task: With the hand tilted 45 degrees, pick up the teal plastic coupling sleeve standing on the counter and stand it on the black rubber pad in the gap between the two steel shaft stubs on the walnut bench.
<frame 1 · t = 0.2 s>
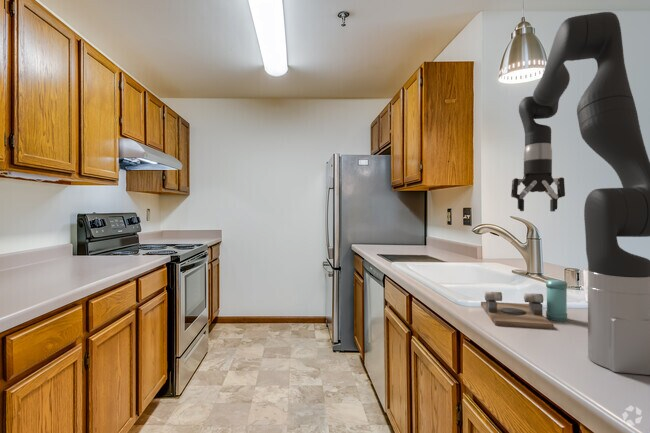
hand: (537, 211, 107), 28 cm above the counter, tool pointing down, fingers open, 8 cm apart
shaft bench: (513, 315, 94), on the counter
coupling: (556, 318, 91), on the counter
white cup: (599, 303, 105), on the counter
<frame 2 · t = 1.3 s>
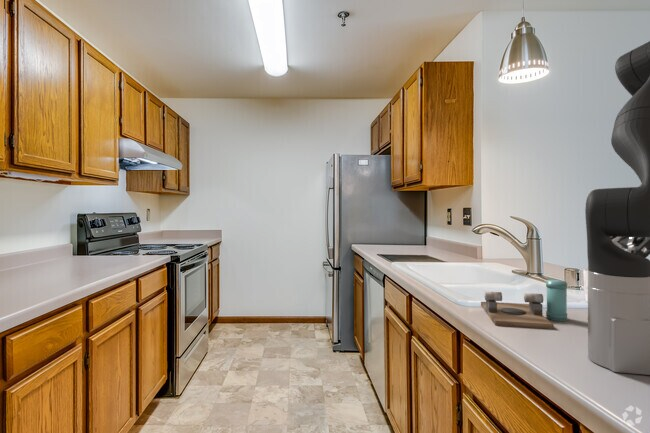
hand: (606, 263, 88), 15 cm above the counter, tool tilted 45°, fingers open, 8 cm apart
nothing on the counter moved.
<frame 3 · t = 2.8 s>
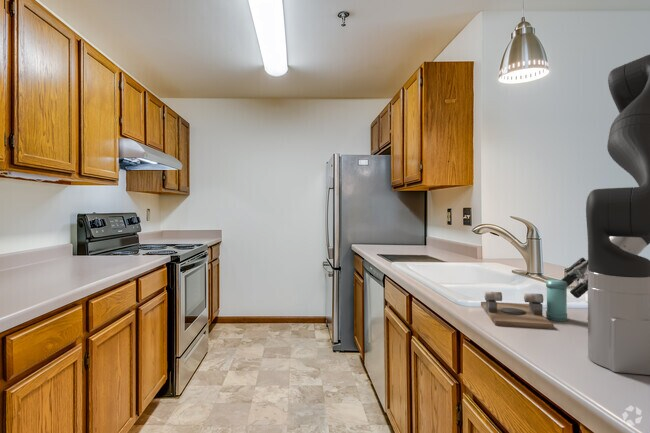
hand: (566, 291, 90), 7 cm above the counter, tool tilted 45°, fingers open, 8 cm apart
nothing on the counter moved.
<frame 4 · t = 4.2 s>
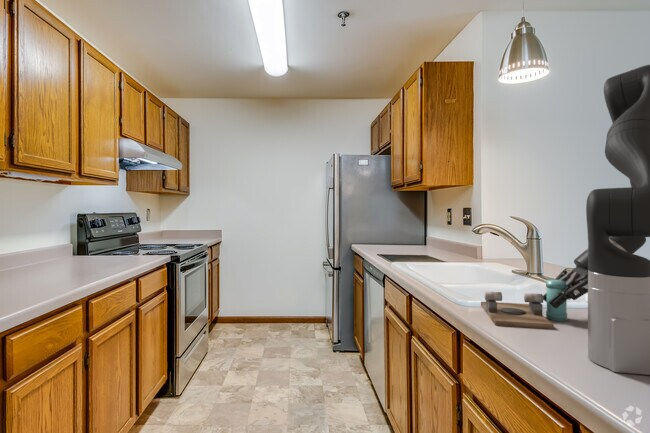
hand: (548, 302, 91), 4 cm above the counter, tool tilted 45°, fingers closed on coupling, 4 cm apart
coupling: (556, 318, 91), on the counter, touching gripper
everything else where it was.
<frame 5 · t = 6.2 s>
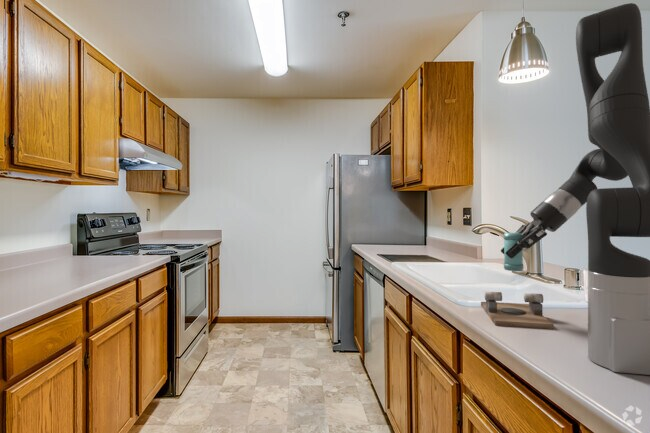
hand: (505, 254, 94), 17 cm above the counter, tool tilted 45°, fingers closed on coupling, 4 cm apart
coupling: (513, 269, 93), point 13 cm above the counter, touching gripper
everything else where it was.
when the fingers open (7 cm above the counter, at t = 8.4 s): coupling drops 1 cm, resting on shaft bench.
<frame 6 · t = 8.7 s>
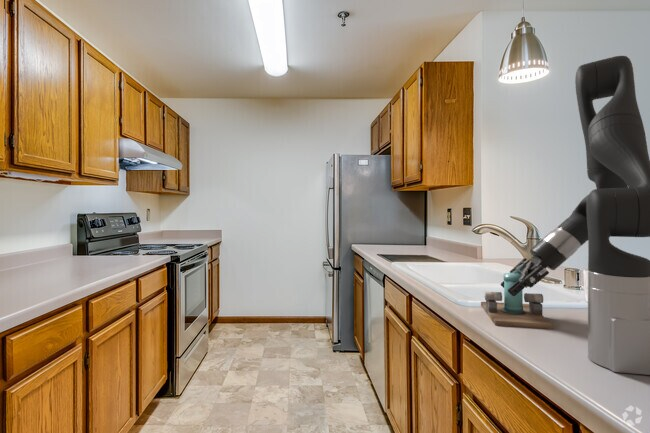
hand: (506, 290, 94), 7 cm above the counter, tool tilted 45°, fingers open, 6 cm apart
coupling: (513, 310, 94), point 1 cm above the counter, touching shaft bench
everything else where it was.
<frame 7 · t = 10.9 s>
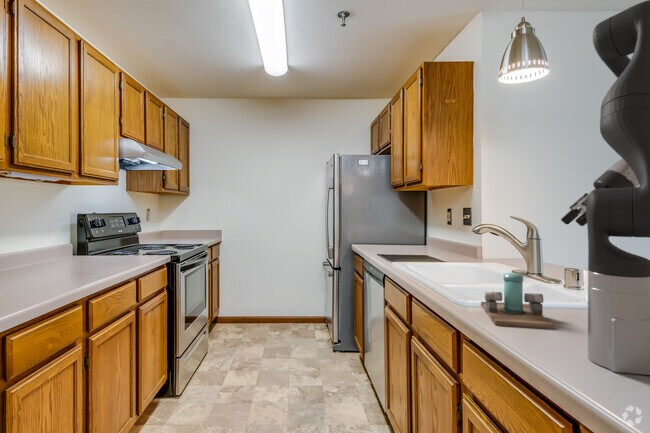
hand: (570, 223, 92), 25 cm above the counter, tool tilted 45°, fingers open, 8 cm apart
nothing on the counter moved.
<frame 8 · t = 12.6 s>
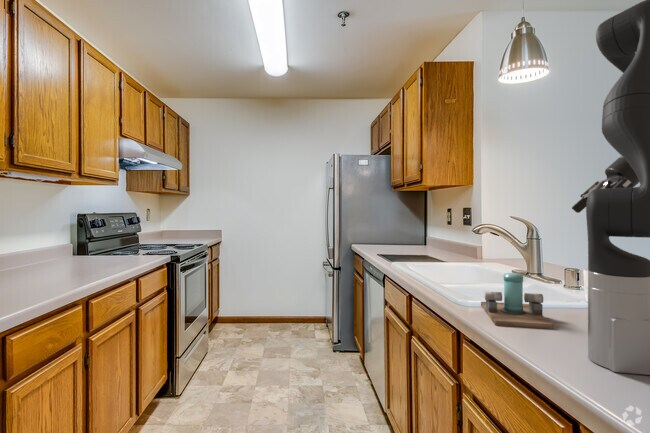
hand: (582, 210, 92), 29 cm above the counter, tool tilted 45°, fingers open, 8 cm apart
nothing on the counter moved.
at the end: coupling 0.1 cm off-centre on the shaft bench, point 1.4 cm above the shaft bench's base; coupling tilted 0°; the gripper is holding nothing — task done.
